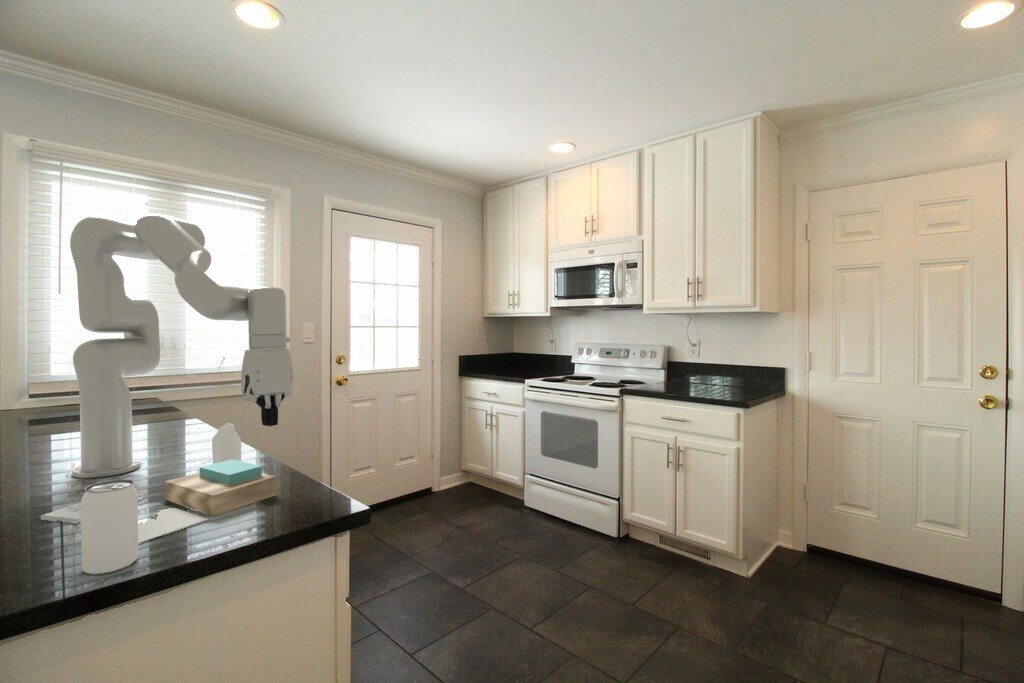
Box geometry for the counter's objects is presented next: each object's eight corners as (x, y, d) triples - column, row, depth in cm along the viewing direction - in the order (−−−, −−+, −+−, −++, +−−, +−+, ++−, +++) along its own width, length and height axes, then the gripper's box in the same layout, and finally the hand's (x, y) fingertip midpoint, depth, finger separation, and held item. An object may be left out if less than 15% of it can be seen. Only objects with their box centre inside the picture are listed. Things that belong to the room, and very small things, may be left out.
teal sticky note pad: (199, 476, 101) (199, 467, 101) (232, 468, 107) (232, 459, 107) (229, 484, 96) (229, 474, 96) (261, 475, 103) (261, 466, 102)
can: (104, 555, 75) (102, 478, 75) (148, 554, 76) (147, 477, 75) (69, 576, 69) (68, 493, 68) (118, 575, 69) (117, 492, 69)
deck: (165, 500, 98) (165, 481, 98) (228, 482, 110) (228, 465, 109) (212, 516, 91) (212, 495, 90) (275, 495, 102) (275, 476, 102)
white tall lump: (211, 426, 112) (212, 422, 117) (212, 478, 112) (212, 471, 117) (241, 424, 115) (240, 420, 120) (241, 474, 115) (241, 468, 120)
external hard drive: (142, 502, 99) (77, 526, 87) (109, 499, 100) (40, 523, 88) (142, 494, 99) (77, 517, 87) (108, 491, 100) (40, 514, 88)
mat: (86, 521, 88) (86, 520, 87) (154, 502, 97) (154, 500, 97) (139, 544, 79) (138, 542, 79) (207, 520, 89) (207, 518, 89)
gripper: (286, 341, 117) (287, 418, 117) (224, 344, 103) (226, 430, 104) (307, 342, 113) (309, 420, 114) (246, 344, 100) (249, 433, 100)
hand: (270, 424), depth 109 cm, fingers closed
